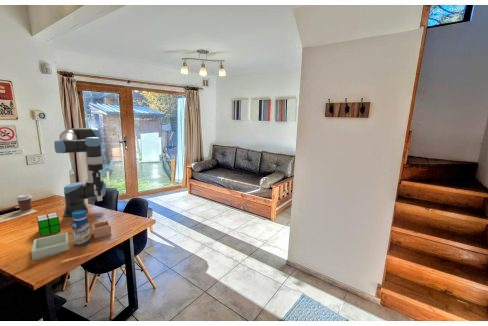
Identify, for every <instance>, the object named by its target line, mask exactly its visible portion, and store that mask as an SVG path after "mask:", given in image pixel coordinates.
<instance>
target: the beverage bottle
mask: <svg viewBox="0 0 488 326" xmlns="http://www.w3.org/2000/svg"><path fill="white" fill-rule="evenodd" d="M87 214H88V213H86V210H77V211H74V212H73V213H72V217H71V219H72V222H71V232H72V239H73V245H74V247H84V246H86V245H89V244H90V243H91V242H92V240H91V230H90V227H91V225H90V220H89V219H88V217H87Z"/></svg>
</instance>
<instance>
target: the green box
mask: <svg viewBox="0 0 488 326" xmlns="http://www.w3.org/2000/svg"><path fill="white" fill-rule="evenodd" d="M68 233H69V232H62V233H59V234H58V233H57V234H53V235H49V236H45V237H44V236H43V237H40V238H35V239H34V240H33V242H32V247H31V258H32V261H37V260H41V259H45V258H49V257H52V256H57V255H59V254H63V252H65V251H69V250H70V246H69V245H70V239H69V234H68Z"/></svg>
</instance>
